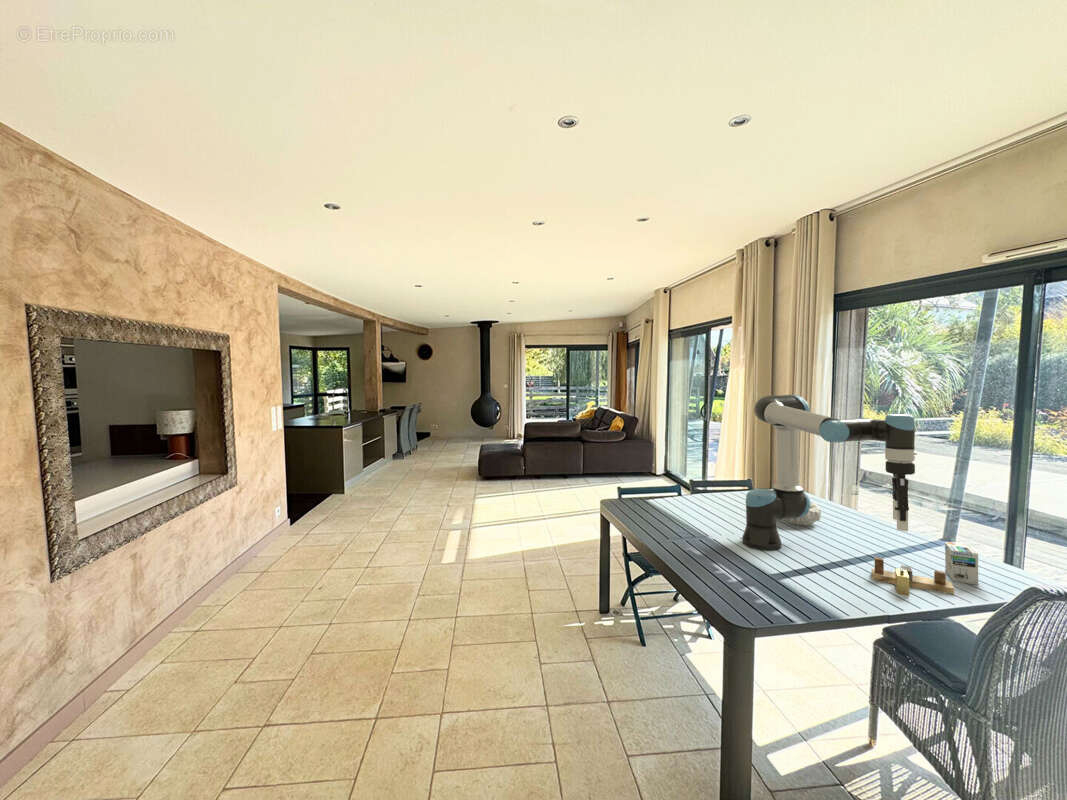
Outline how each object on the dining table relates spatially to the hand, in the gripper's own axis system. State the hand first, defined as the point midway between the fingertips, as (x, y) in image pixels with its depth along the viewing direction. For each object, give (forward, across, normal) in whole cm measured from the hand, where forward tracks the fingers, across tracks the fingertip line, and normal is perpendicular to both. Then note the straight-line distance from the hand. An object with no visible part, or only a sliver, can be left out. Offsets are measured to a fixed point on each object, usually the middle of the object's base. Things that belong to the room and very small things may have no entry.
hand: (900, 525), depth 147 cm
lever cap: (+22, 0, 0) cm, 22 cm away
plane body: (+22, +8, -3) cm, 23 cm away
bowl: (+22, +66, +34) cm, 77 cm away
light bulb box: (+22, +23, -18) cm, 36 cm away
